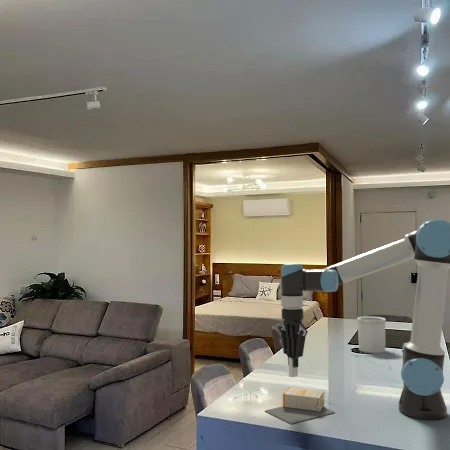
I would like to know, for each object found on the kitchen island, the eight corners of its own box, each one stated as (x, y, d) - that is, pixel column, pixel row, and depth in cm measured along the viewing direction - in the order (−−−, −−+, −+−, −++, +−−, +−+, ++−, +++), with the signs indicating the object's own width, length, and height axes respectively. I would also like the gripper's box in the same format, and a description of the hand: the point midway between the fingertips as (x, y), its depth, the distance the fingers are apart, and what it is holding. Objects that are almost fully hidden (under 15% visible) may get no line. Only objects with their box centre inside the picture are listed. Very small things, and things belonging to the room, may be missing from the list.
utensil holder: (383, 354, 242) (382, 321, 242) (354, 351, 249) (354, 319, 250) (388, 349, 254) (387, 317, 255) (361, 346, 262) (360, 315, 263)
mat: (334, 412, 156) (334, 412, 156) (291, 424, 146) (291, 423, 146) (306, 401, 168) (306, 400, 168) (264, 411, 158) (264, 410, 158)
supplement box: (282, 407, 161) (320, 412, 155) (282, 393, 161) (319, 397, 156) (289, 400, 168) (325, 405, 163) (288, 387, 168) (324, 391, 163)
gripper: (313, 308, 158) (314, 379, 156) (288, 305, 169) (289, 370, 167) (296, 310, 154) (297, 382, 152) (272, 306, 165) (273, 373, 163)
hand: (293, 376), depth 160 cm, fingers closed
